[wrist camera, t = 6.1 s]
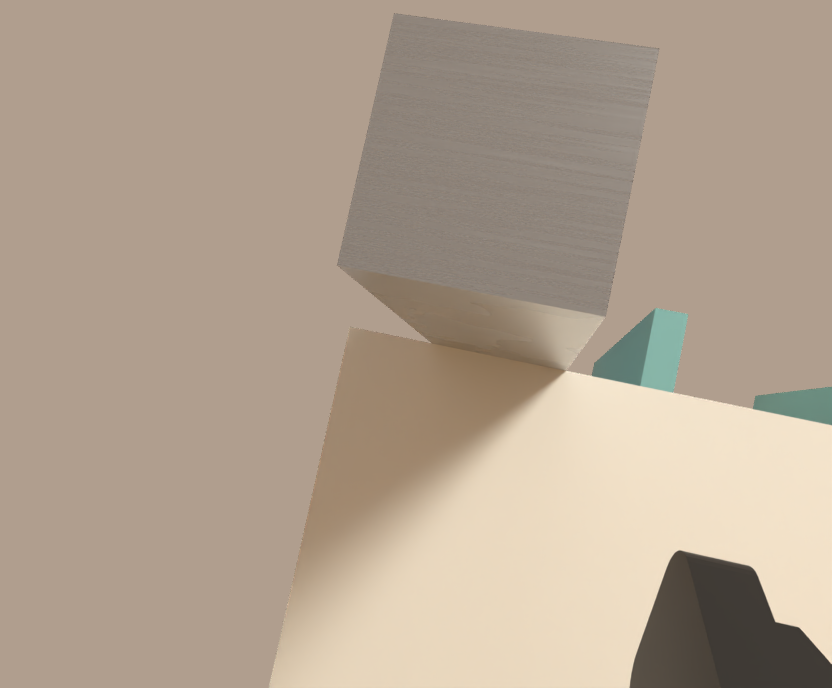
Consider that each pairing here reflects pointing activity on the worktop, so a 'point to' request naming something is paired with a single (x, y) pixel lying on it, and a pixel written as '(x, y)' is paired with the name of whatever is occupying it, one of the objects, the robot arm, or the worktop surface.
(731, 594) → the robot arm
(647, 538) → the stand
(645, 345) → the channel ribs
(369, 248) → the grey square bar
